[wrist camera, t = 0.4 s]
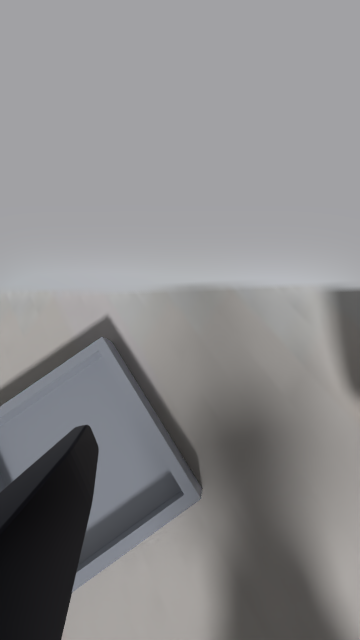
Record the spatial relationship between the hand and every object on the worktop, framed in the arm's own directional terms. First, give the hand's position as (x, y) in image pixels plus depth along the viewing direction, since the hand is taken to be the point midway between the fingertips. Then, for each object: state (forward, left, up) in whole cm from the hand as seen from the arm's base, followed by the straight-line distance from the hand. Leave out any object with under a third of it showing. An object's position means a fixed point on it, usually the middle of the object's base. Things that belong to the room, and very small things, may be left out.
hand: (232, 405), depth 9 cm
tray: (+2, +12, -15) cm, 19 cm away
